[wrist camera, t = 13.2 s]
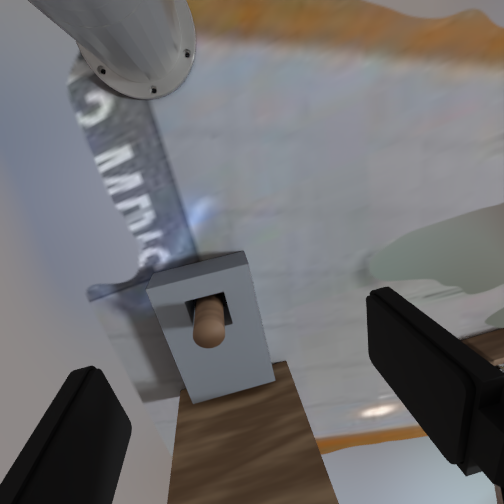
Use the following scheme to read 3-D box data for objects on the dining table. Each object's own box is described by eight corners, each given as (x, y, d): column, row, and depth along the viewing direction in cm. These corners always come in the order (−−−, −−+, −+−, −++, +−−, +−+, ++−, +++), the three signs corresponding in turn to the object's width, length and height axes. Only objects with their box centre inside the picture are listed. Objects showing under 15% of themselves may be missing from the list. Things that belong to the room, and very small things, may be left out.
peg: (193, 287, 41) (188, 326, 32) (218, 281, 42) (220, 318, 32) (200, 308, 43) (197, 351, 33) (224, 302, 43) (228, 343, 34)
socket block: (152, 273, 39) (145, 289, 35) (243, 250, 40) (248, 263, 36) (194, 379, 48) (193, 404, 43) (269, 359, 49) (275, 380, 44)
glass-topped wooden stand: (161, 345, 44) (69, 722, 15) (276, 315, 45) (397, 606, 16) (183, 395, 49) (144, 760, 20) (287, 366, 50) (396, 667, 21)
